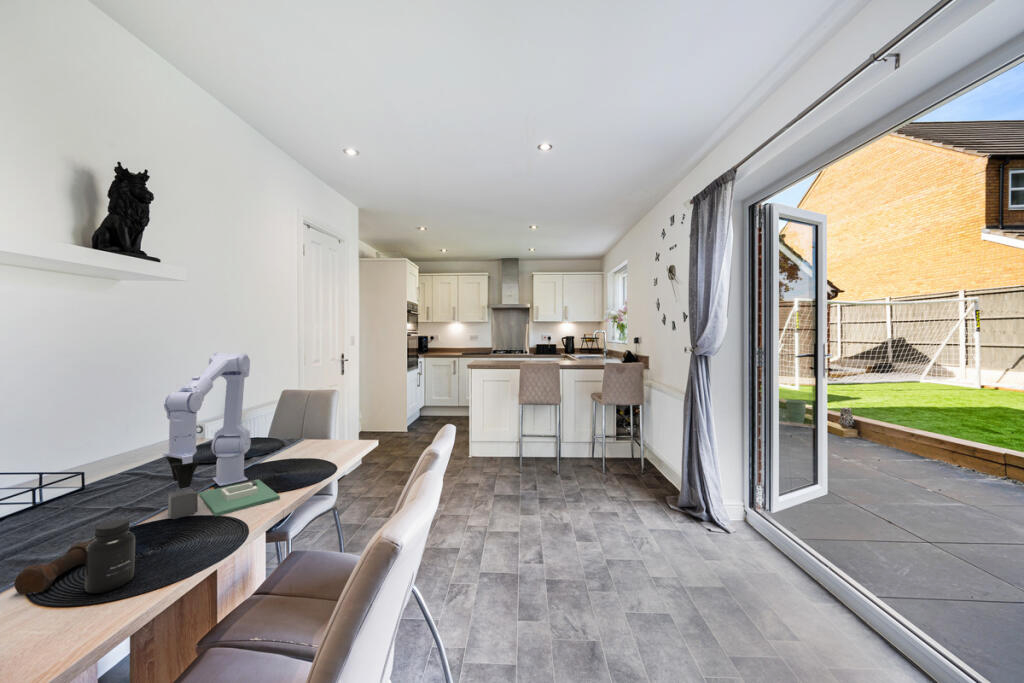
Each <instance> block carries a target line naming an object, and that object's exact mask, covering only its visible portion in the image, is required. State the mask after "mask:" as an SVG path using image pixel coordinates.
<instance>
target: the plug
mask: <svg viewBox="0 0 1024 683" xmlns="http://www.w3.org/2000/svg"><path fill="white" fill-rule="evenodd" d="M167 495H168V497H167V498H168V500H167V502H168V503H167V504H168V505H167V516H168V518H169V519H173V520H176V519H180V518H185V517H187V516H191V515H195V513H197V512H199V511H198V506H199V505H198V504H199V502H198V501H199V500H198V499H199V493H198V492H197V491H194V490H193V488H187V489H182V490H179V491H174V492H169V493H168V494H167Z"/></svg>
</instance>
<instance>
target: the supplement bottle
mask: <svg viewBox="0 0 1024 683" xmlns="http://www.w3.org/2000/svg"><path fill="white" fill-rule="evenodd" d="M94 538H96V539H94ZM93 539H94V540H93V541H92V542H91V543H90V544H89V545H88V546H87V550H86V564H85V572H84V577H85V578H84V589H85V592H87V593H89V594H102V593H107V592H110V591H113V590H116V589H118V588H120V587H123V586H124V585H126V584H128V583H129V582H130V581H132V579H133V577H134V575H135V574H134V573H135V558H136V556H135V555H136V535H135V534H134V533H133V532H131V531H130V520H129V519H127V518H119V519H118V518H117V519H112V520H108V521H103V522H102V523H99V524H98V525H96V526H95V527H94V534H93Z"/></svg>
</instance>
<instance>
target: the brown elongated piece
mask: <svg viewBox="0 0 1024 683" xmlns="http://www.w3.org/2000/svg"><path fill="white" fill-rule="evenodd" d="M94 539H96V538H94V537H93V538H92V539H90V540H89V541H83V542H82V541H81V542H76V543H74V544H73V545H71V547H69V549H68V550H67V552H66V553H65V554H63V555H61V556H59V557H58V558H56V559H54V560H51V561H50V562H48V563H47V564H35V565H29V566H27V567H25V568H23V570H21V571H20V573H19V574H18V575H17V576H16V578H15V579H14V583H13V584H14V589H15V591H16V592H17V593H18V594H20V595H21V594H22V596H26V595H25V594H28V593H33V592H36V593H38V592H42V593H44V592H45V590H46V589H47V590H49V588H50V587H51V585H52V584H53V582H54V581H55V580H56V578H57V577H60V576H61V575H62V574H64V573H65V572H67V571H70V570H71V569H72V568H74V567H76V565H77V566H82V565H81V564H84V565H86V550H87V546H88V545H89V544H90V543H91V542H92V541H93V540H94ZM47 590H46V591H47ZM43 591H44V592H43Z"/></svg>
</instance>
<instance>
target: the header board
mask: <svg viewBox="0 0 1024 683" xmlns="http://www.w3.org/2000/svg"><path fill="white" fill-rule="evenodd" d="M198 497H200V499H201V501H203V503H204V505H206V507H207V508H208V510H209V511H210V512H211V513H212V514H213V516H214V517H219V516H222V515H226V514H229V513H233V512H237V511H241V510H244V509H248V508H252V507H255V506H260V505H265V504H267V503H270V502H274V501H277V500H278V501H279V500H280V495H279V494H278V493H277V492H275V491H274V490H273V489H272V488H270V487H269V486H267V484H265V483H264V482H263V481H262V480H261V479H259V478H258V479H253V480H252V479H251V480H246V481H242V482H238V483H234V484H230V485H225V486H223V487H222V486H221V487H217V488H215V489H210V490H204V491H200V492H199V493H198Z"/></svg>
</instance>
